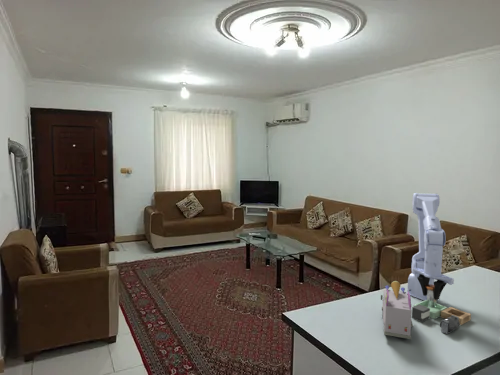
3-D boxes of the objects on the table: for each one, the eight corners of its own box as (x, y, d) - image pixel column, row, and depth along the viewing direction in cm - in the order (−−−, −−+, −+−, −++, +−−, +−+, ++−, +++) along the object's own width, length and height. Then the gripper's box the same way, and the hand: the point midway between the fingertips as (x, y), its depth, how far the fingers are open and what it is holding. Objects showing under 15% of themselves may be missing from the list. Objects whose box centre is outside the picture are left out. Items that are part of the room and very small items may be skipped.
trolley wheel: (438, 330, 115) (438, 319, 114) (448, 324, 119) (449, 313, 118) (450, 335, 111) (451, 324, 111) (461, 329, 115) (461, 318, 115)
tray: (413, 310, 129) (413, 305, 129) (426, 305, 134) (426, 299, 134) (434, 319, 123) (434, 313, 123) (447, 312, 128) (447, 307, 128)
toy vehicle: (406, 317, 124) (408, 277, 122) (413, 345, 105) (415, 299, 104) (379, 313, 127) (381, 274, 125) (381, 340, 108) (383, 294, 107)
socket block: (440, 317, 124) (441, 311, 124) (450, 312, 128) (450, 306, 128) (461, 325, 118) (461, 319, 118) (470, 319, 122) (471, 314, 122)
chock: (411, 317, 124) (412, 307, 124) (418, 314, 126) (419, 304, 126) (422, 322, 121) (423, 311, 120) (429, 319, 123) (429, 308, 123)
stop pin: (423, 305, 128) (423, 285, 128) (429, 303, 131) (429, 283, 130) (434, 309, 125) (433, 288, 125) (440, 306, 127) (439, 286, 127)
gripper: (408, 258, 131) (406, 292, 132) (447, 269, 119) (445, 306, 120) (418, 255, 134) (416, 288, 136) (457, 265, 122) (455, 302, 124)
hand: (430, 297), depth 128 cm, fingers closed on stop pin, 4 cm apart
